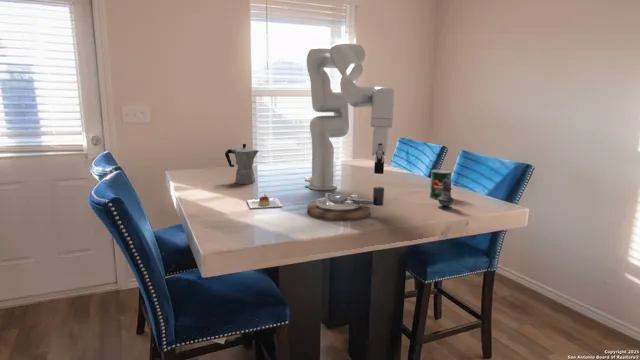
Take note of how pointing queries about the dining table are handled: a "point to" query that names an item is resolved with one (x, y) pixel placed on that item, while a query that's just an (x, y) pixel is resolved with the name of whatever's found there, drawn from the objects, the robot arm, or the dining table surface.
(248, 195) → the dining table surface
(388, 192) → the dining table surface
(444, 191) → the gray candlestick
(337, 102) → the robot arm
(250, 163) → the coffeepot
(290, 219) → the dining table surface
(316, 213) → the base
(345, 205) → the crank handle
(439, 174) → the canned tomato
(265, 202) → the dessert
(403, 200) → the dining table surface
